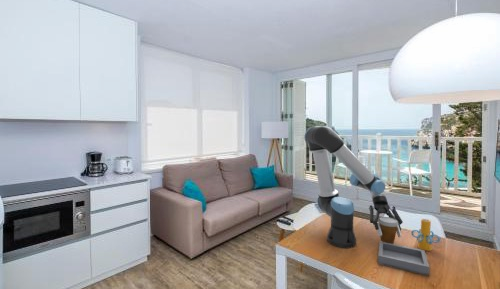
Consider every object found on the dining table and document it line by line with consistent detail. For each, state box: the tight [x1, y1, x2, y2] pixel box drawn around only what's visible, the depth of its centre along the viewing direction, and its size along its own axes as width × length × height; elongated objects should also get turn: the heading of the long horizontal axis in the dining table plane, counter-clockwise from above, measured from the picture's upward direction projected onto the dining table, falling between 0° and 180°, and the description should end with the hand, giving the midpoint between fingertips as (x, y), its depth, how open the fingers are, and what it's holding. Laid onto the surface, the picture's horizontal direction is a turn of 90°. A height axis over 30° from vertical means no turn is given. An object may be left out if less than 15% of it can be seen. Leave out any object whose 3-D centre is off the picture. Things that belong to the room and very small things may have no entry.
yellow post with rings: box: [410, 218, 441, 252], centre depth 125 cm, size 12×10×15 cm
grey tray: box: [377, 241, 430, 277], centre depth 114 cm, size 19×16×4 cm
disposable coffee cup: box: [378, 216, 398, 244], centre depth 131 cm, size 10×10×12 cm
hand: (390, 236), depth 128 cm, fingers closed on disposable coffee cup, 9 cm apart
